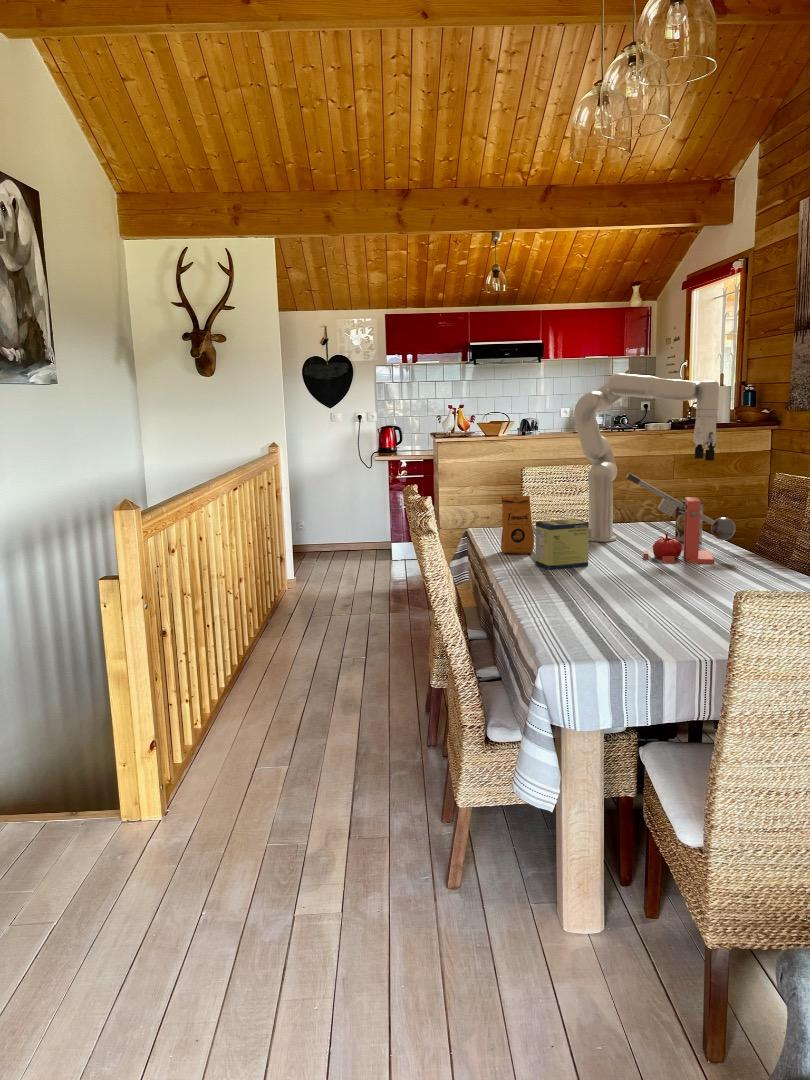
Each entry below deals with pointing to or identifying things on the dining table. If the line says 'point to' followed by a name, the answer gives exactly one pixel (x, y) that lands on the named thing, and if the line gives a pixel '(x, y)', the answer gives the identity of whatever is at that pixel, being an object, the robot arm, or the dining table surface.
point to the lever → (719, 527)
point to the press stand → (691, 536)
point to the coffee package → (517, 525)
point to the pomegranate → (667, 547)
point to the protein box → (562, 543)
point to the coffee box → (681, 522)
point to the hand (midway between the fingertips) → (704, 459)
